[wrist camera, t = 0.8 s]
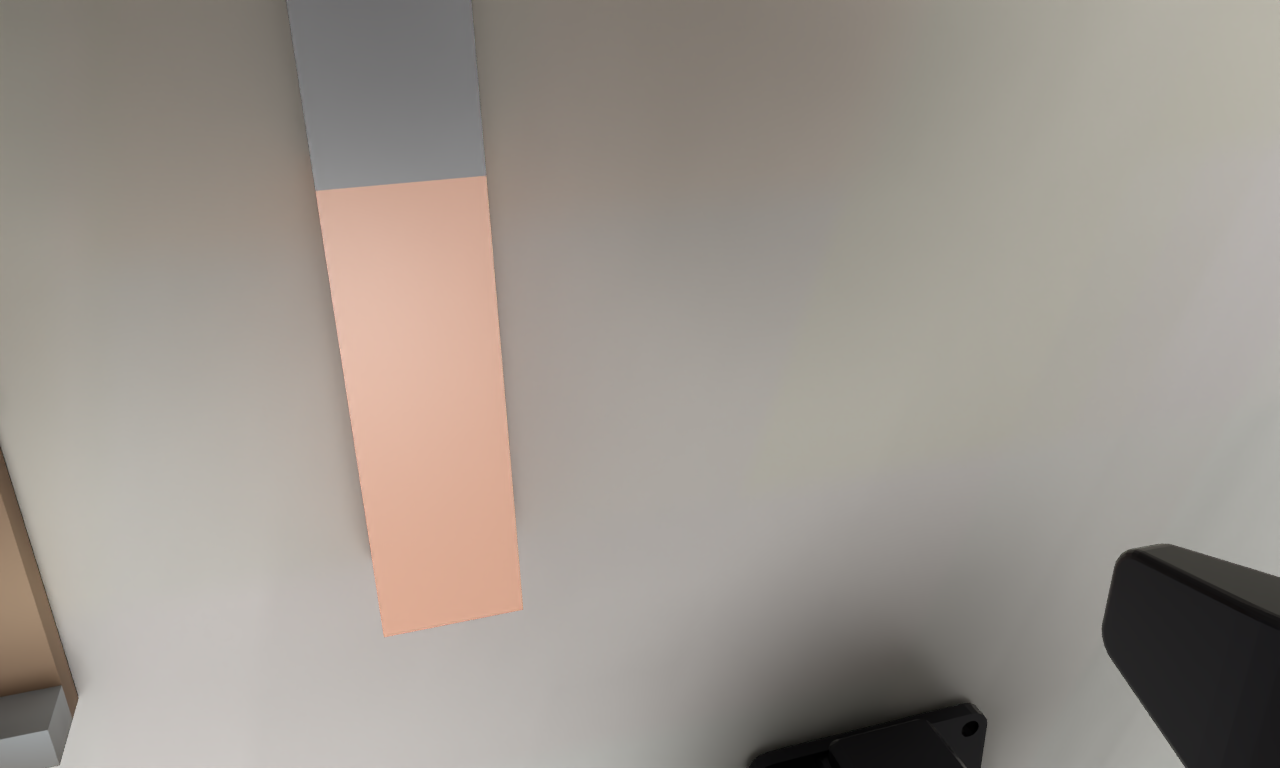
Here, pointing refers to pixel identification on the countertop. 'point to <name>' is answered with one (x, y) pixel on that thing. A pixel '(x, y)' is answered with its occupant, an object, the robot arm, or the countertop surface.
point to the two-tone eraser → (413, 298)
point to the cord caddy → (28, 652)
